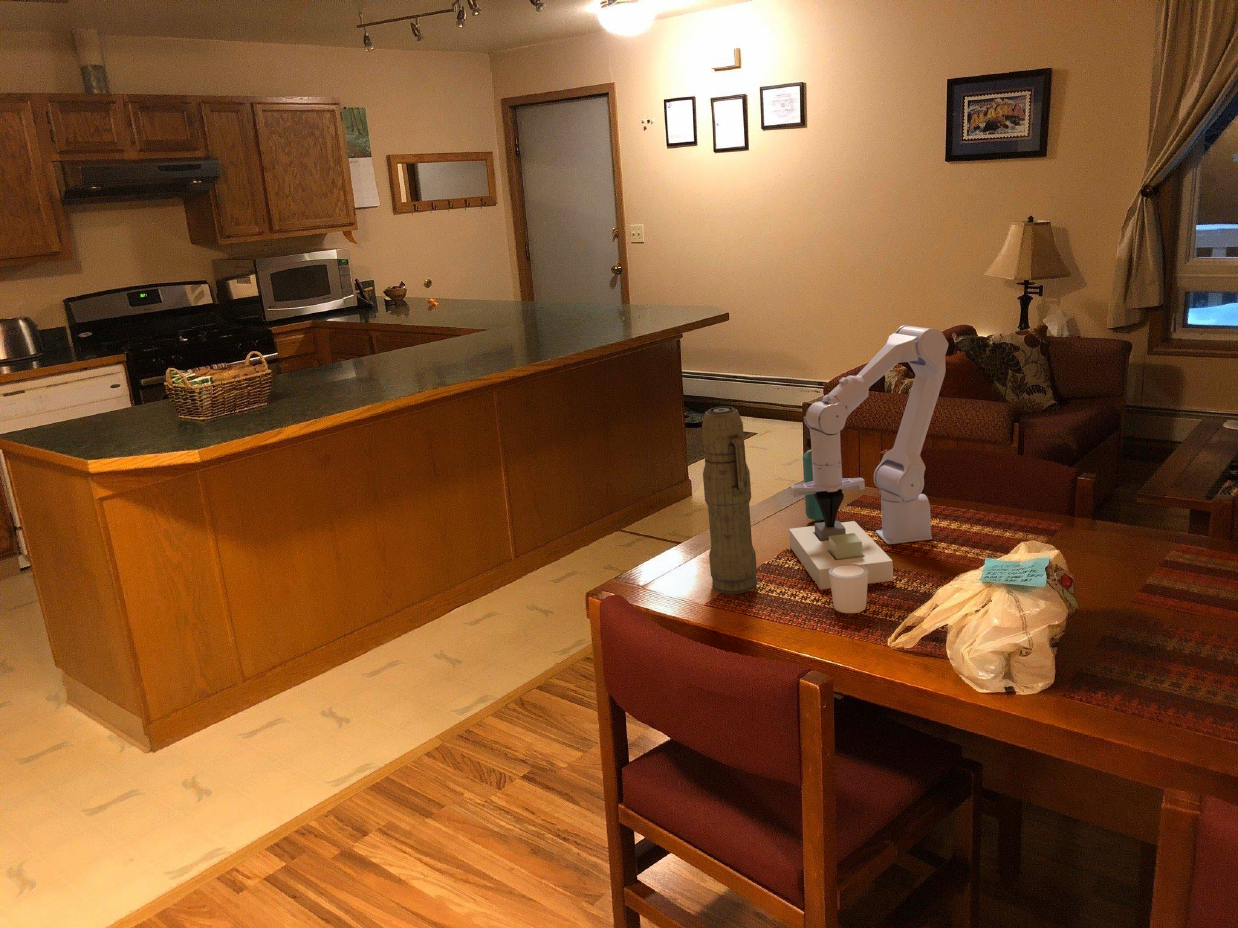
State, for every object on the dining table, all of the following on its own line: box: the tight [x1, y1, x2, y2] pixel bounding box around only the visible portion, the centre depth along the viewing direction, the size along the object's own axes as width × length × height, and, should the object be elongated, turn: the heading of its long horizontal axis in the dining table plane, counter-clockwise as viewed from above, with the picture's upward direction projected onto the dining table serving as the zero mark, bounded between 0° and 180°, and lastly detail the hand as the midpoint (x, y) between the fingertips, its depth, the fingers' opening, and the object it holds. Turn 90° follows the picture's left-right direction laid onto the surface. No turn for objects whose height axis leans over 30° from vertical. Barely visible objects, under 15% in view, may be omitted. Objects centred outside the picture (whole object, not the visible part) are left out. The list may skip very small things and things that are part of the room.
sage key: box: [829, 533, 862, 559], centre depth 188 cm, size 5×5×3 cm
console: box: [788, 520, 894, 590], centre depth 195 cm, size 14×24×4 cm, turn 4°
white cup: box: [829, 564, 868, 614], centre depth 174 cm, size 7×7×7 cm
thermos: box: [701, 406, 758, 595], centre depth 185 cm, size 9×12×35 cm
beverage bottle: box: [802, 435, 824, 521], centre depth 217 cm, size 6×7×20 cm
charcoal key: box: [814, 520, 846, 541], centre depth 199 cm, size 5×5×3 cm
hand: (829, 526), depth 199 cm, fingers closed, pressing on charcoal key
